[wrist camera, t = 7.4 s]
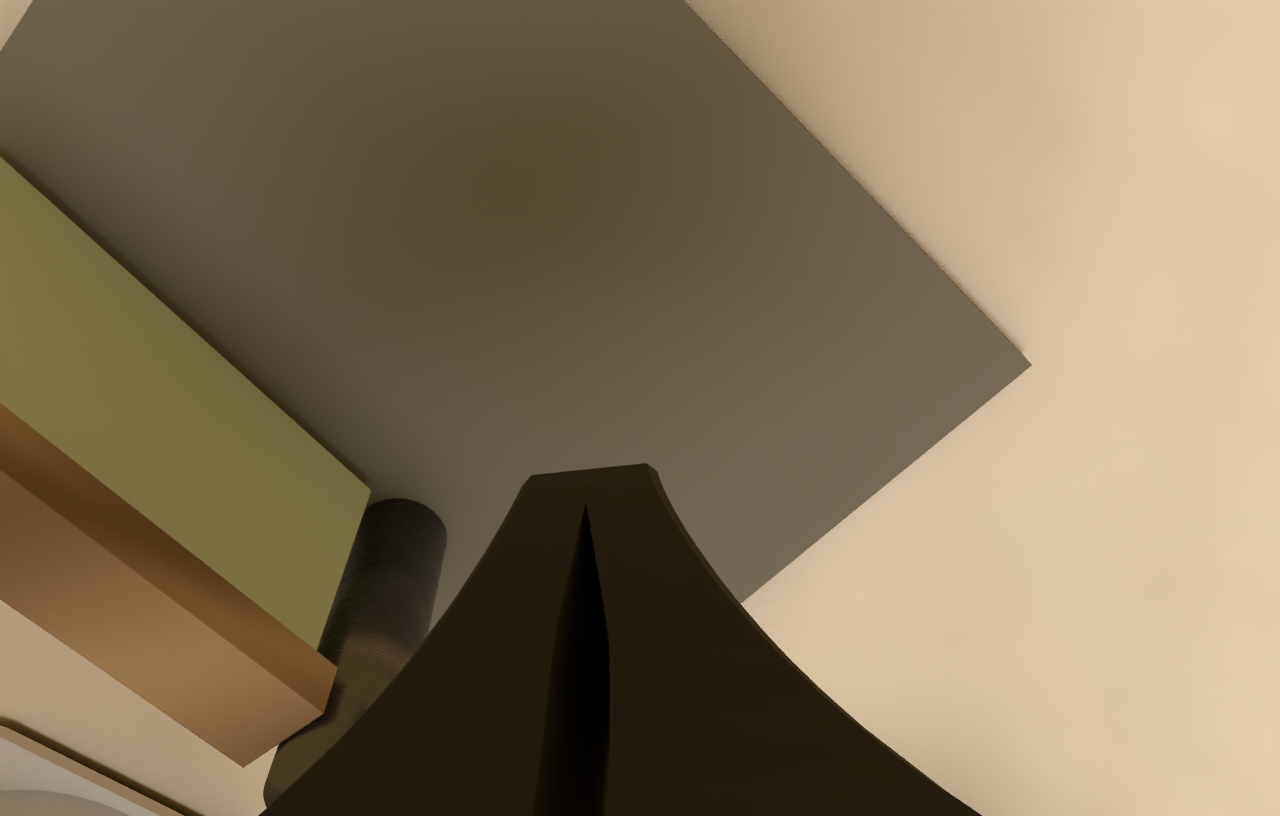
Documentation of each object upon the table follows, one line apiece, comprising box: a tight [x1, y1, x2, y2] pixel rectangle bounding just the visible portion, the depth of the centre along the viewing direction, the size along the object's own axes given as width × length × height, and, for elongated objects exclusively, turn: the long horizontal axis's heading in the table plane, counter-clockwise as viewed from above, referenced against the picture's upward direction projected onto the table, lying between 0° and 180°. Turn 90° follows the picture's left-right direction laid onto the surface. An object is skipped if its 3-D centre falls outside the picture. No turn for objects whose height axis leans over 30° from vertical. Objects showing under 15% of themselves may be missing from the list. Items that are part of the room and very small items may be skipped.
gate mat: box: [0, 0, 1031, 808], centre depth 17 cm, size 16×18×8 cm
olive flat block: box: [0, 157, 371, 768], centre depth 16 cm, size 10×2×6 cm, turn 38°
